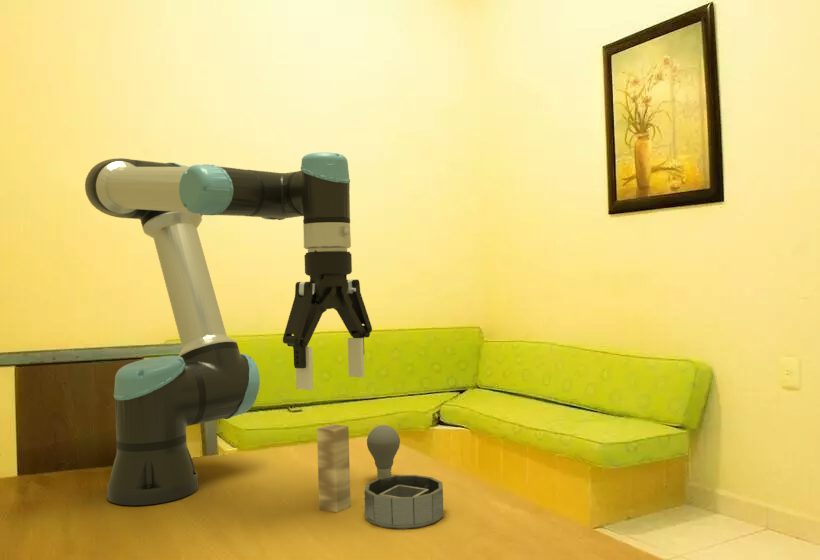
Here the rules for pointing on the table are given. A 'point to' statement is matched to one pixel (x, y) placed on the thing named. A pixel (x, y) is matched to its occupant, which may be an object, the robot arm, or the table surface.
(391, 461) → the light bulb
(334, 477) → the tan square post
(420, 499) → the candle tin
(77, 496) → the table surface
